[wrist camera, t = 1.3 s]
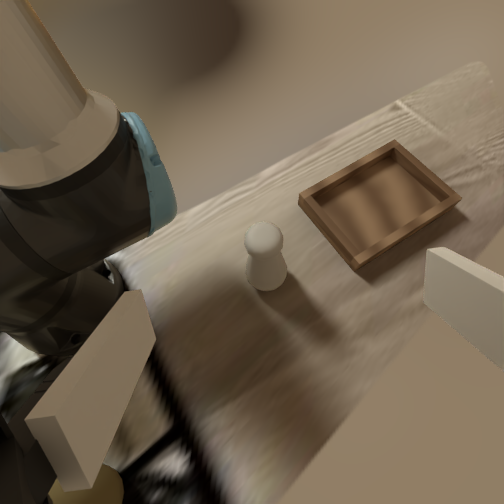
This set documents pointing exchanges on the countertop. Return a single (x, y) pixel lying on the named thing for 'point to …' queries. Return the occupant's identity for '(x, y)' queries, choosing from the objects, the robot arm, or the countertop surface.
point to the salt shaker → (265, 256)
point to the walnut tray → (376, 203)
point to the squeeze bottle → (92, 490)
